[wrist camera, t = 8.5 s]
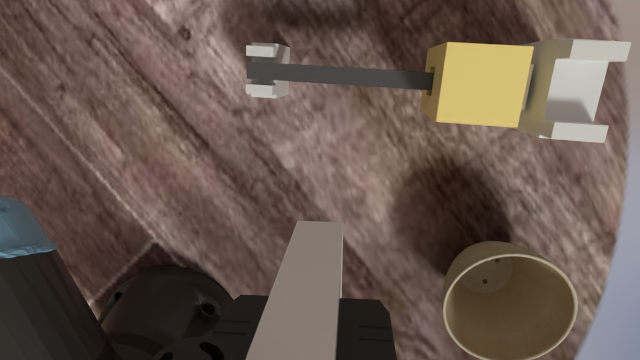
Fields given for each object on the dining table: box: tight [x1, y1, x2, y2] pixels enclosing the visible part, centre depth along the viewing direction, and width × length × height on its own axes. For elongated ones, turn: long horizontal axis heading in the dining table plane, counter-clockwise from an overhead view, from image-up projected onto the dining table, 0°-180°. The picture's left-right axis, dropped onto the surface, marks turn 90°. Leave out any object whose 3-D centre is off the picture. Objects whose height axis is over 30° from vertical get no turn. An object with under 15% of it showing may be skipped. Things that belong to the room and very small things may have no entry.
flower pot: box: [442, 241, 578, 360], centre depth 33 cm, size 10×10×7 cm
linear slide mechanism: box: [246, 38, 631, 143], centre depth 28 cm, size 23×6×11 cm, turn 86°
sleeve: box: [420, 42, 534, 128], centre depth 27 cm, size 5×5×7 cm
